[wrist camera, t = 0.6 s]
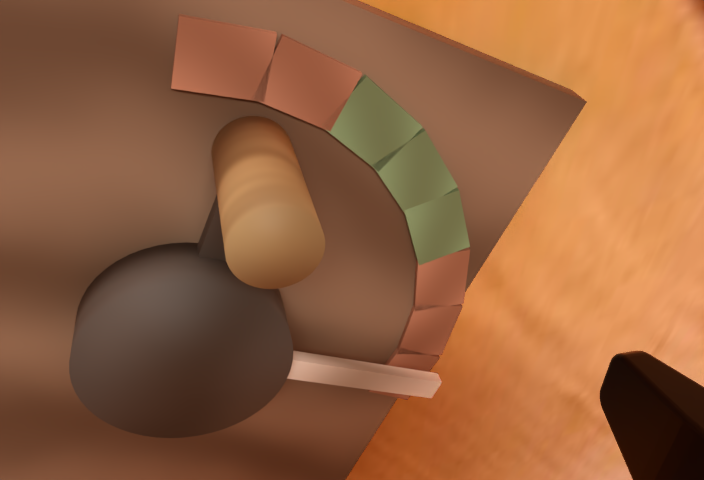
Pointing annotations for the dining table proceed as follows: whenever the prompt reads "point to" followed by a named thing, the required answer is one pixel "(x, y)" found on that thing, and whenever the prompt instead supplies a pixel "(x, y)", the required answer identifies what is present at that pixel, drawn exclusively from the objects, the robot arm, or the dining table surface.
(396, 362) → the tuner board
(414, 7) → the dining table surface
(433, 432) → the dining table surface
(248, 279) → the peg dial
